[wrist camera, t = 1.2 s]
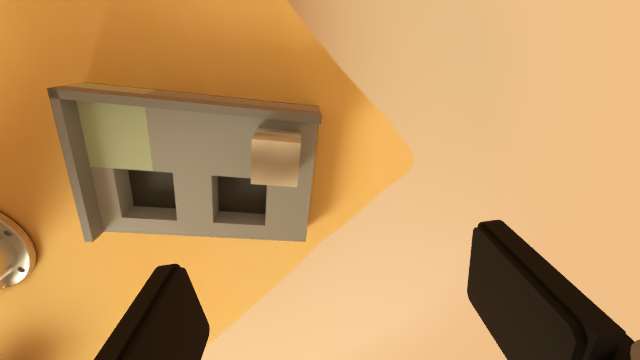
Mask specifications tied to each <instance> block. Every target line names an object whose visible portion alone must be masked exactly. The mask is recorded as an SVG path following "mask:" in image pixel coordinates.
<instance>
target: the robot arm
mask: <svg viewBox="0 0 640 360" xmlns="http://www.w3.org/2000/svg"><path fill="white" fill-rule="evenodd" d="M35 263H36V252H35V249H34V246H33V243H32V242H31V240H30V238H29V236H28V235H27V234H26V233H25V232H24V230H23V229H22V228H21V227H20V226H19V225H17V224H16V223H15V222H14V221H13V220H11V219H10V218H8V217H7V216H5V215H4V214H2V213H0V290H1V289H3V288H7V287H11V286H13V285H16V284H18V283H19V282H21V281H22V280H23V279H25V278H26V277H27V276H28V275H29V274H30V273H31V272H32V270H33V268H34V267H35ZM467 293H468V297H469V300H470V302H471V303H472V305H473V307H474V308H475V310H476V311H477V313H478V314H479V316H480V317H481V319H482V321H483V322H484V324H485V325H486V327H487V328H488V330H489V332H490V333H491V335H492V336H493V338H494V339H495V341H496V343H497V344H498V346H499V347H500V349H501V350H502V352H503V354H504V355H505V357H506V358H507V360H640V340H637V341H636V342H634V341H633V340H632V339H631V338H630V337H629V336H627V334H626V332H625V331H624V330H623V329H622V328H621V327H620V326H619V325H617V324H616V323H615V322H614V321H613V320H612V319H611V318H610V317H609V316H607V315H606V314H605V313H604V312H603V311H602V310H601V309H600V308H599V307H597V306H596V305H595V304H594V303H593V302H592V301H591V300H590V299H588V298H587V297H586V296H585V295H584V294H583V293H582V292H581V291H580V290H578V289H577V288H576V287H575V286H574V285H573V284H572V283H571V282H570V281H569V280H567V279H566V278H565V277H564V276H563V275H562V274H561V273H560V272H558V271H557V270H556V269H555V268H554V267H553V266H552V265H551V264H550V263H548V262H547V261H546V260H545V259H544V258H543V257H542V256H541V255H540V254H538V253H537V252H536V251H535V250H534V249H533V248H532V247H530V245H528V244H527V243H526V242H525V241H524V240H523V239H522V238H521V237H519V236H518V235H517V234H516V233H515V232H514V231H513V230H511V228H509V227H508V226H507V225H506V224H505V223H504V222H503V221H501V220H493V221H486V222H480V223H479V224H478V227H477V228H474V230H473V237H472V247H471V257H470V267H469V277H468V287H467ZM208 337H209V324H208V321H207V319H206V316H205V314H204V312H203V309H202V307H201V305H200V302H199V300H198V297H197V295H196V293H195V290H194V288H193V286H192V283H191V281H190V278H189V276H188V274H187V271H186V269H185V268H181V267H180V265H178V264H170V265H163V266H158V267H157V268H156V269H155V270H154V272H153V273H152V275H151V276H150V278H149V279H148V280H147V282H146V283H145V285H144V286H143V288H142V289H141V291H140V292H139V294H138V295H137V297H136V298H135V300H134V301H133V303H132V304H131V306H130V307H129V309H128V310H127V312H126V313H125V314H124V316H123V317H122V319H121V320H120V322H119V323H118V325H117V326H116V328H115V329H114V331H113V332H112V334H111V335H110V337H109V338H108V340H107V341H106V343H105V344H104V346H103V347H102V348H101V350H100V351H99V353H98V354H97V356H96V357H95V359H94V360H201V358H202V355H203V352H204V349H205V346H206V343H207V340H208Z"/></svg>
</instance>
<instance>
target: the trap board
mask: <svg viewBox="0 0 640 360" xmlns="http://www.w3.org/2000/svg"><path fill="white" fill-rule="evenodd" d="M47 90H48V95H49V99H50V103H51V107H52V111H53V115H54V119H55V123H56V127H57V131H58V135H59V139H60V143H61V147H62V151H63V155H64V159H65V163H66V167H67V171H68V175H69V179H70V183H71V187H72V191H73V195H74V199H75V203H76V207H77V211H78V215H79V220H80V224H81V228H82V232H83V236H84V240H85V242H93V241H94V240H95V239H97V238H98V237H99V236H100V235H101V234H102V233H103V232H104V231H105V232H124V233H144V234H163V235H183V236H202V237H222V238H241V239H261V240H280V241H299V242H306V234H307V225H308V216H309V207H310V198H311V189H312V180H313V171H314V162H315V153H316V144H317V135H318V126H319V124H321V117H322V115H321V113H320V110H319V107H318V106H310V105H300V104H291V103H281V102H271V101H261V100H251V99H242V98H232V97H222V96H212V95H202V94H193V93H183V92H173V91H163V90H154V89H144V88H134V87H124V86H114V85H105V84H95V83H79V84H72V85H66V86H60V87H53V88H47ZM257 127H262V128H273V129H284V130H294V131H301V150H300V161H299V172H298V183H297V187H286V186H271V185H257V184H251V142H252V137H253V135H254V133H255V131H256V129H257Z"/></svg>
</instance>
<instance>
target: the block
mask: <svg viewBox="0 0 640 360" xmlns="http://www.w3.org/2000/svg"><path fill="white" fill-rule="evenodd" d="M300 150H301V131H294V130H284V129H273V128H262V127H257V129H256V131H255V133H254V135H253V137H252V142H251V184H257V185H271V186H286V187H297V183H298V172H299V161H300Z"/></svg>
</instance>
